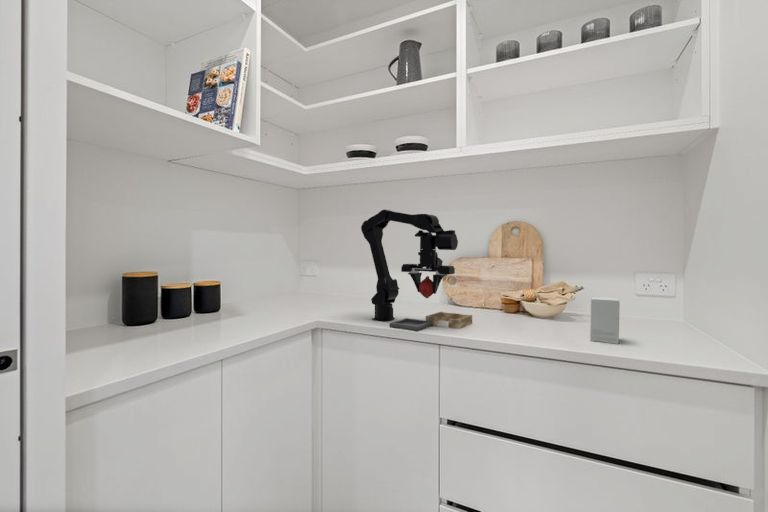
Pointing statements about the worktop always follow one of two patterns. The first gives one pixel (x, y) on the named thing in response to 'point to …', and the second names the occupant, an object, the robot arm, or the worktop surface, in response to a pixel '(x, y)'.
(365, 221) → the robot arm
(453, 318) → the oak frame
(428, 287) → the onion
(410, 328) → the grey square tray
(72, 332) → the worktop surface
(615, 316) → the supplement box
